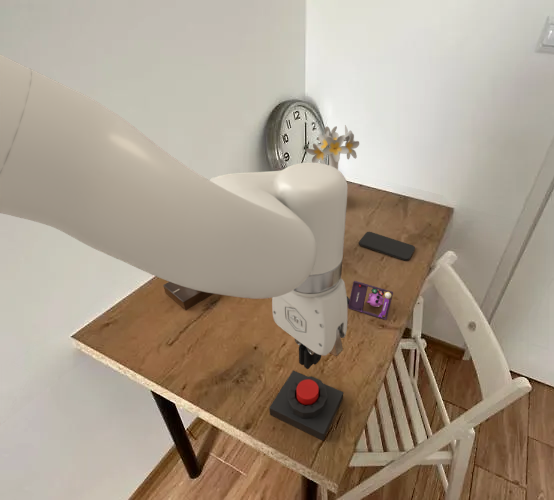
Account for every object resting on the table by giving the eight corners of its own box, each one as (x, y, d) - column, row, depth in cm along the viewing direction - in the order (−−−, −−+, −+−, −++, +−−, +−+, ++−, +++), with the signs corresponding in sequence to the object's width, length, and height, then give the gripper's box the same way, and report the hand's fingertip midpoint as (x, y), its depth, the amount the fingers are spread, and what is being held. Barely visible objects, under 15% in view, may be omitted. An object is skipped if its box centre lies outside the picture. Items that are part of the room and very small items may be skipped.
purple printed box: (352, 282, 78) (392, 293, 75) (358, 275, 82) (396, 285, 80) (347, 309, 80) (385, 321, 77) (353, 300, 84) (389, 312, 82)
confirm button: (292, 399, 58) (292, 393, 57) (303, 382, 61) (303, 376, 60) (312, 408, 57) (312, 402, 56) (321, 390, 60) (322, 384, 59)
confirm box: (269, 414, 59) (268, 401, 57) (293, 377, 65) (293, 363, 63) (323, 441, 56) (324, 428, 54) (342, 399, 62) (344, 386, 60)
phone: (408, 260, 95) (357, 242, 100) (408, 262, 96) (357, 245, 100) (416, 246, 101) (367, 230, 105) (415, 248, 101) (367, 232, 106)
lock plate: (187, 312, 77) (185, 303, 75) (163, 291, 81) (160, 282, 80) (226, 289, 83) (224, 280, 82) (201, 271, 88) (199, 262, 86)
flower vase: (301, 211, 114) (301, 134, 99) (326, 189, 128) (329, 118, 113) (337, 222, 110) (343, 143, 95) (359, 198, 124) (367, 126, 109)
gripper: (245, 255, 44) (258, 349, 55) (339, 314, 37) (332, 409, 48) (288, 230, 49) (292, 321, 60) (379, 279, 42) (364, 372, 53)
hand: (310, 360), depth 54 cm, fingers closed
